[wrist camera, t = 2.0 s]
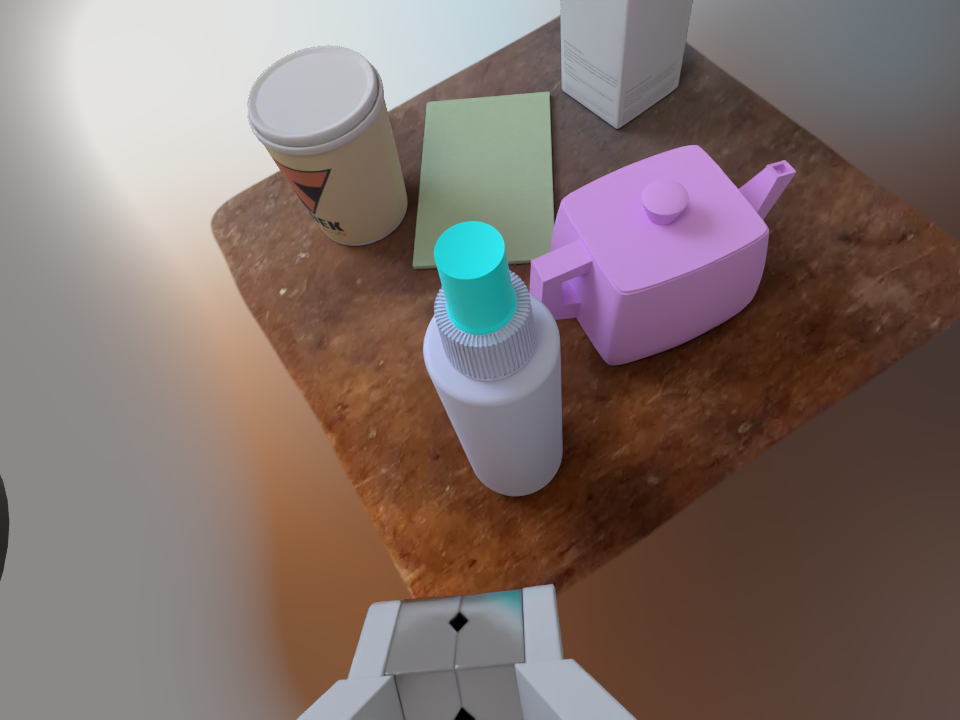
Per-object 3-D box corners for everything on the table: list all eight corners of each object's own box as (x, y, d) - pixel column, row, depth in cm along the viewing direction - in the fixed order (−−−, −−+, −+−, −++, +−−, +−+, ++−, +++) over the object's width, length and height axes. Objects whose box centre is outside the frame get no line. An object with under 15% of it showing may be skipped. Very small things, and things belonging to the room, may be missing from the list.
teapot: (720, 193, 48) (756, 81, 39) (805, 296, 43) (868, 196, 34) (507, 283, 47) (493, 189, 38) (570, 399, 42) (571, 323, 33)
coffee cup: (288, 209, 53) (218, 92, 42) (376, 150, 55) (330, 23, 44) (347, 275, 49) (287, 164, 38) (440, 208, 51) (406, 85, 40)
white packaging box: (680, 88, 54) (710, -67, 42) (616, 132, 52) (629, -16, 41) (620, 48, 57) (633, -106, 46) (558, 89, 55) (556, -59, 44)
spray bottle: (581, 465, 40) (594, 264, 20) (501, 516, 39) (436, 359, 20) (529, 393, 43) (496, 156, 23) (454, 440, 42) (354, 235, 22)
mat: (413, 269, 49) (412, 266, 48) (427, 105, 57) (427, 101, 56) (555, 262, 47) (555, 258, 47) (549, 95, 55) (549, 91, 55)
